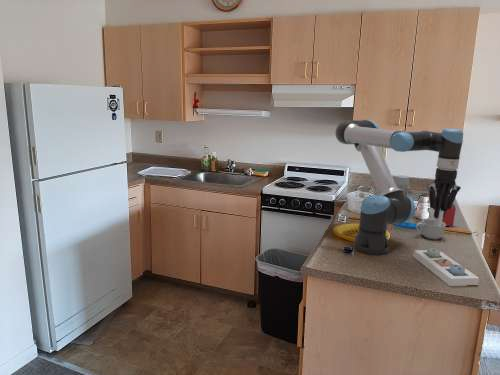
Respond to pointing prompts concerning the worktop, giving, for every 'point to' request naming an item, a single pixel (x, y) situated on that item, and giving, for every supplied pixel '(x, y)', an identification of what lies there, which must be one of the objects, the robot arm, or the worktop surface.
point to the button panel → (445, 270)
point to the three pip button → (444, 262)
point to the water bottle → (402, 183)
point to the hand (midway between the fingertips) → (437, 225)
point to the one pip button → (433, 253)
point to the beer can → (449, 216)
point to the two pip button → (457, 270)
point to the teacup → (431, 229)
